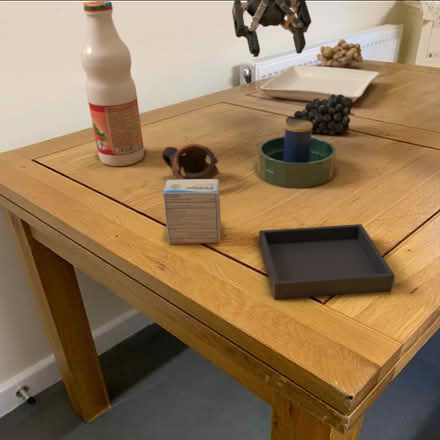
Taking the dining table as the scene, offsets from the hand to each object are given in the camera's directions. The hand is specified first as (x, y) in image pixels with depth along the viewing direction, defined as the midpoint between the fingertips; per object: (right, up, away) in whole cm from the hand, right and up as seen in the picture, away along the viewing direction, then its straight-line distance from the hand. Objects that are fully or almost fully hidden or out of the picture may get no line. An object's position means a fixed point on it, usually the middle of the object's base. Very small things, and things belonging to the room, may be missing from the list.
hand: (279, 52), depth 86 cm
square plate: (+18, +13, +47) cm, 52 cm away
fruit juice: (-31, -16, +12) cm, 37 cm away
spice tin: (+3, -21, +3) cm, 22 cm away
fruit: (+12, -8, +21) cm, 25 cm away
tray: (+3, -41, -22) cm, 46 cm away
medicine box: (-15, -36, -14) cm, 42 cm away
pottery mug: (-16, -24, +1) cm, 29 cm away
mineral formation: (+30, +31, +70) cm, 82 cm away
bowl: (+3, -22, +3) cm, 22 cm away
